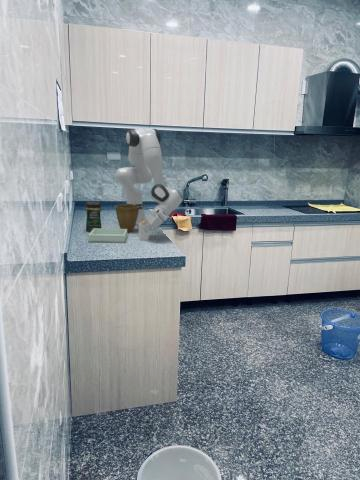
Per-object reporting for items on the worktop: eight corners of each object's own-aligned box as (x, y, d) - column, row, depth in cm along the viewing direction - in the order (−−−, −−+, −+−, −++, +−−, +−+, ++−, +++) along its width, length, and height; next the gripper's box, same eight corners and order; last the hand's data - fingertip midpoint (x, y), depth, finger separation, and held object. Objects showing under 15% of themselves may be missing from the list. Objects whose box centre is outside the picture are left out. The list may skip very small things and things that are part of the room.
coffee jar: (85, 232, 221) (85, 202, 217) (86, 229, 229) (85, 200, 224) (101, 231, 223) (101, 202, 219) (101, 229, 231) (101, 200, 226)
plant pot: (140, 233, 223) (140, 207, 219) (115, 233, 220) (115, 207, 216) (137, 228, 237) (138, 204, 233) (115, 228, 234) (115, 204, 230)
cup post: (147, 237, 212) (147, 222, 210) (148, 239, 207) (148, 224, 205) (138, 238, 210) (138, 223, 208) (139, 240, 206) (139, 224, 204)
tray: (93, 234, 214) (93, 228, 213) (127, 235, 216) (127, 229, 215) (88, 242, 197) (88, 235, 196) (124, 242, 198) (124, 235, 197)
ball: (141, 224, 208) (141, 220, 207) (146, 224, 208) (146, 220, 207) (140, 226, 205) (140, 222, 204) (146, 226, 206) (146, 222, 204)
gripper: (153, 206, 216) (137, 222, 216) (159, 212, 197) (142, 229, 197) (160, 214, 218) (144, 229, 218) (167, 220, 199) (150, 237, 199)
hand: (143, 229), depth 207 cm, fingers open, 8 cm apart
